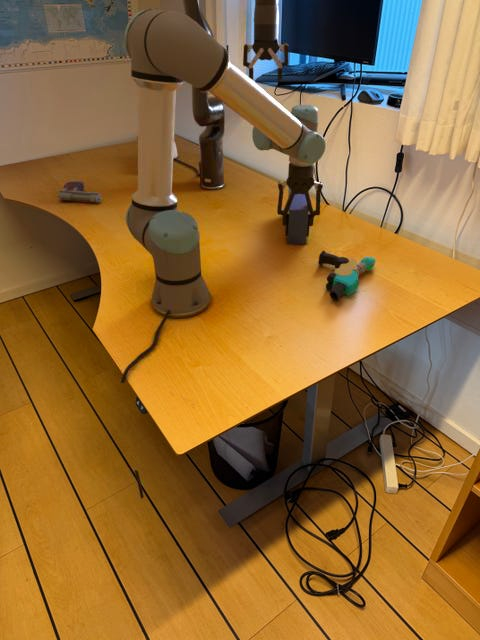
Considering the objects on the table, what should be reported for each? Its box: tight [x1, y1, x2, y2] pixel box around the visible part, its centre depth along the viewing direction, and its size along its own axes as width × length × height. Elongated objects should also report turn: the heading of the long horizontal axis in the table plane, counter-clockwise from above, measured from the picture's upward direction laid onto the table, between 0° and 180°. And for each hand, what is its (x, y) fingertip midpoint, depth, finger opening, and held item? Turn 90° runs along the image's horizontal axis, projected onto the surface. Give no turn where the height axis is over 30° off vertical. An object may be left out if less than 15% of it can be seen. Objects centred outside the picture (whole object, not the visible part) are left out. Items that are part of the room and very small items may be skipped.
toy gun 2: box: [318, 250, 376, 303], centre depth 132 cm, size 4×26×15 cm
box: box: [287, 187, 310, 245], centre depth 158 cm, size 24×6×12 cm, turn 176°
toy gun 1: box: [56, 180, 103, 204], centre depth 185 cm, size 4×19×15 cm
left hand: (297, 234), depth 153 cm, fingers closed on box, 6 cm apart
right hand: (265, 81), depth 153 cm, fingers open, 8 cm apart
